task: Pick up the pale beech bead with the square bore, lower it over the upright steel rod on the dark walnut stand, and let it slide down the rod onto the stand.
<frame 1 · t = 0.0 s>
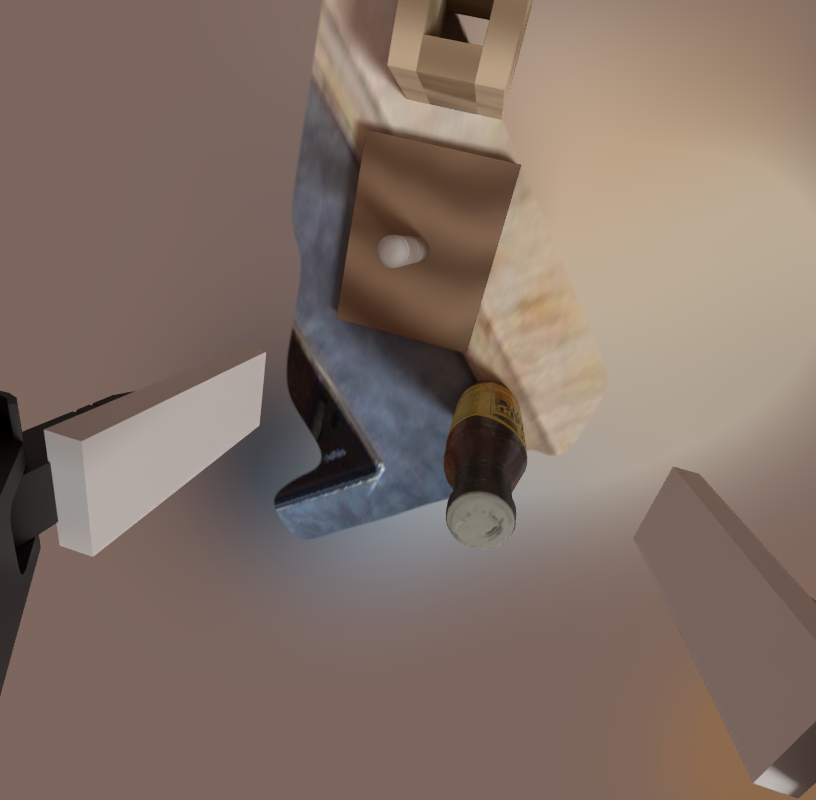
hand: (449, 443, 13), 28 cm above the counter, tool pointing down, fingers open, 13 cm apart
rod stand: (422, 249, 38), on the counter
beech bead: (467, 49, 32), on the counter
sauce bottle: (486, 404, 42), on the counter
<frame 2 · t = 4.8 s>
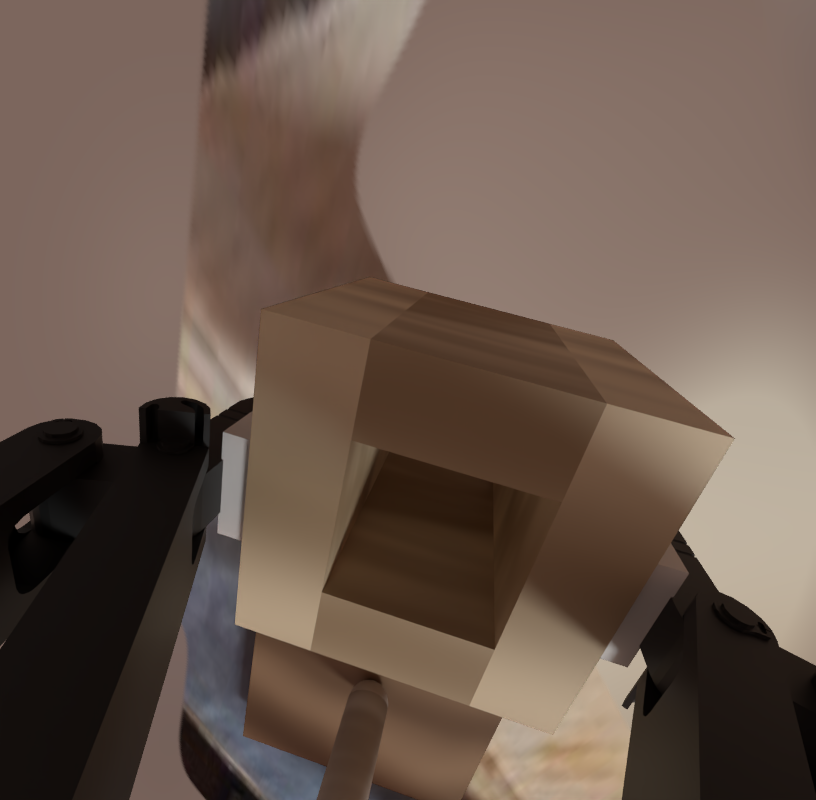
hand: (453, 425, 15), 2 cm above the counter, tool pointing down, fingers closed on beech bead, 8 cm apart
rod stand: (379, 657, 22), on the counter
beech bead: (455, 417, 15), point 2 cm above the counter, touching gripper
when the fingers open (5 cm above the counter, at t = 11.0 s): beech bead drops 3 cm, resting on rod stand.
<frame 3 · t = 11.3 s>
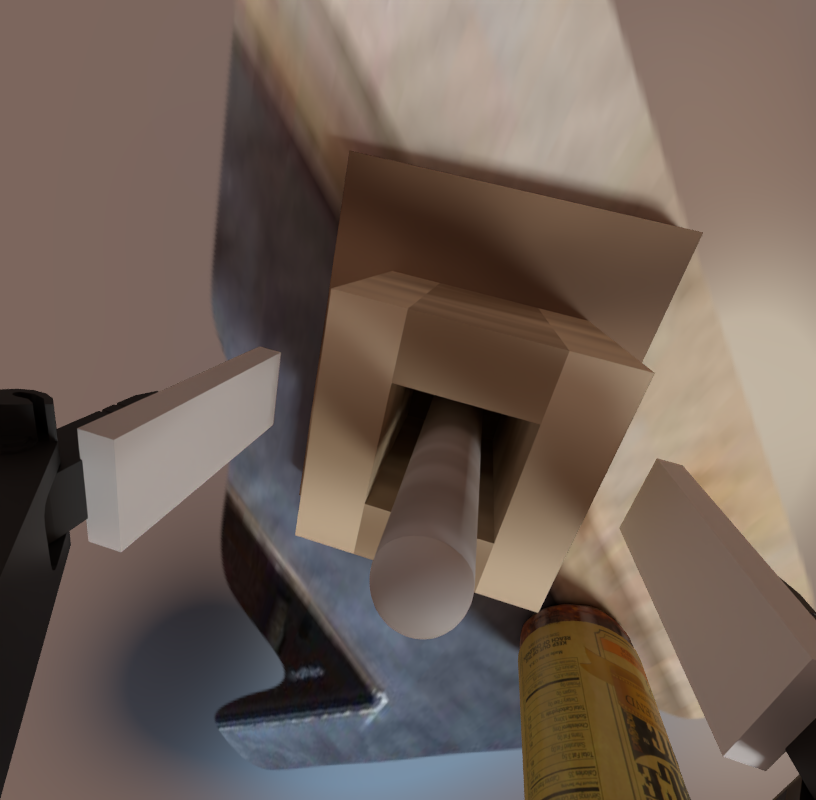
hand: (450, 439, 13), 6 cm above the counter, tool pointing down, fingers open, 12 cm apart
rod stand: (462, 379, 19), on the counter
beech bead: (461, 386, 18), point 1 cm above the counter, touching rod stand
sauce bottle: (570, 632, 24), on the counter
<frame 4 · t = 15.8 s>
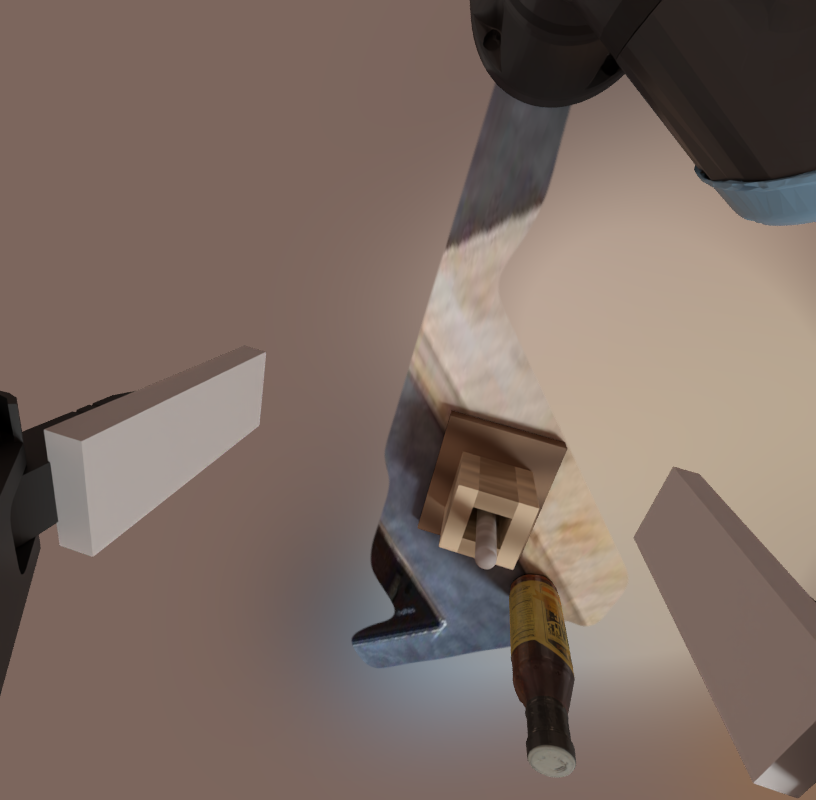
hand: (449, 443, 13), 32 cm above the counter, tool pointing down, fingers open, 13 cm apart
rod stand: (486, 484, 49), on the counter
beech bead: (487, 490, 48), point 1 cm above the counter, touching rod stand
sauce bottle: (532, 587, 54), on the counter
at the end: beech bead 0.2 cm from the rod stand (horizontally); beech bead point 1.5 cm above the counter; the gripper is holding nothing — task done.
